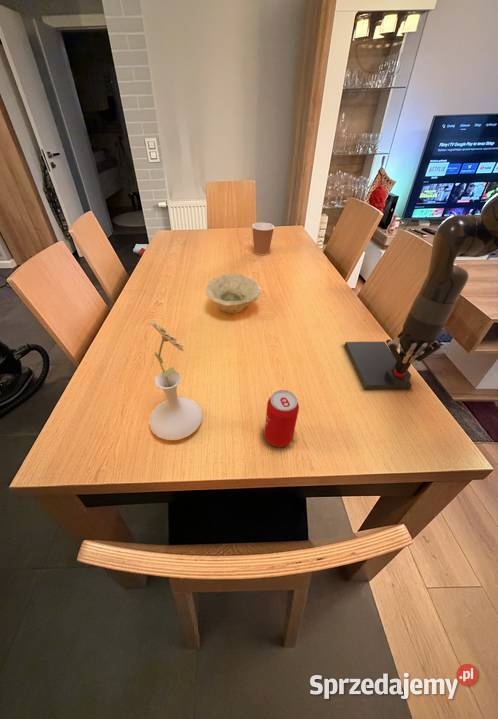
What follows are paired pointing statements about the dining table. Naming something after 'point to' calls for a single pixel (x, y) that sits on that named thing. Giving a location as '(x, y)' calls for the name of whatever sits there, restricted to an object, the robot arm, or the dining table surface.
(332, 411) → the dining table surface
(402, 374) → the button
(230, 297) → the bowl
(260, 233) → the coffee cup
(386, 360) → the grey plate red button
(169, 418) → the flower in vase
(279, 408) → the beverage can
